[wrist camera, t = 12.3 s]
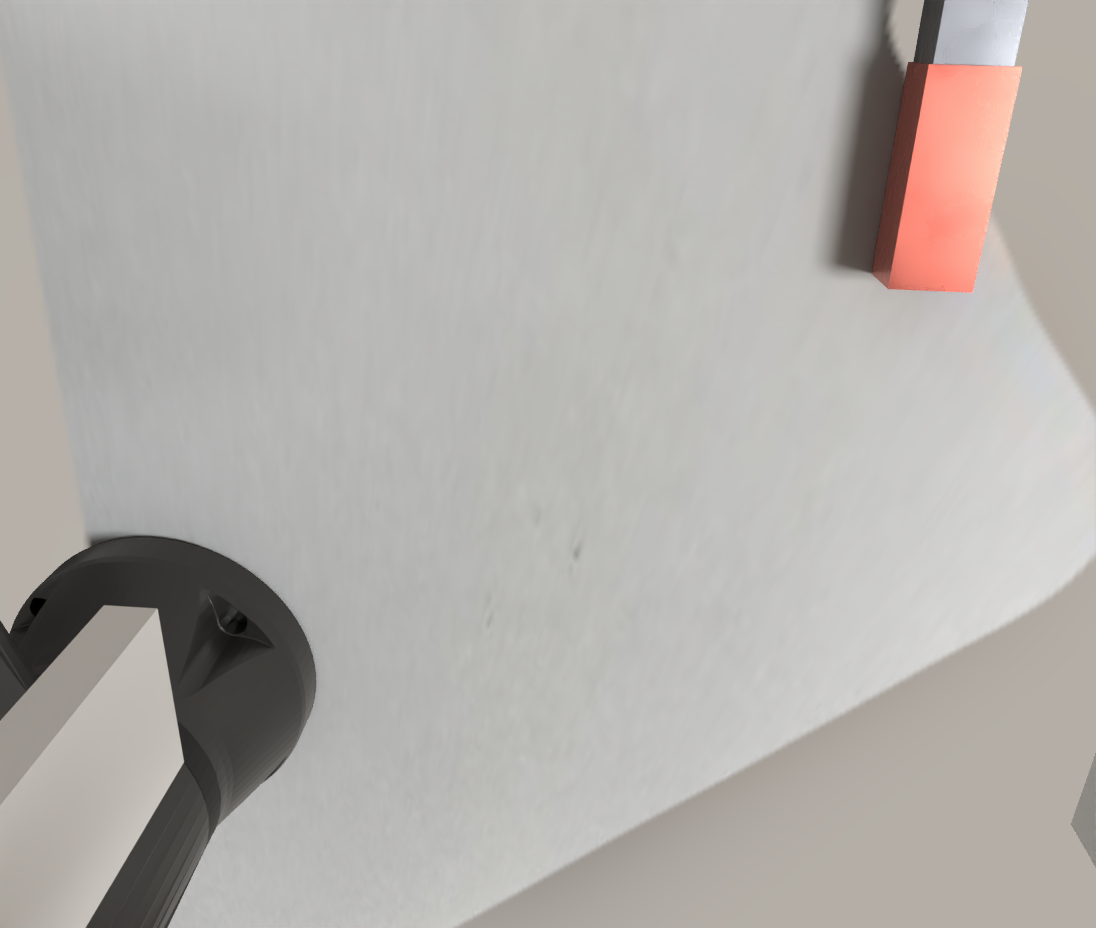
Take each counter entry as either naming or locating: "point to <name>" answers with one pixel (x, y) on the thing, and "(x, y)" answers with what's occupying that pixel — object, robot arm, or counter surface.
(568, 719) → the counter surface
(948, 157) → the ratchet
